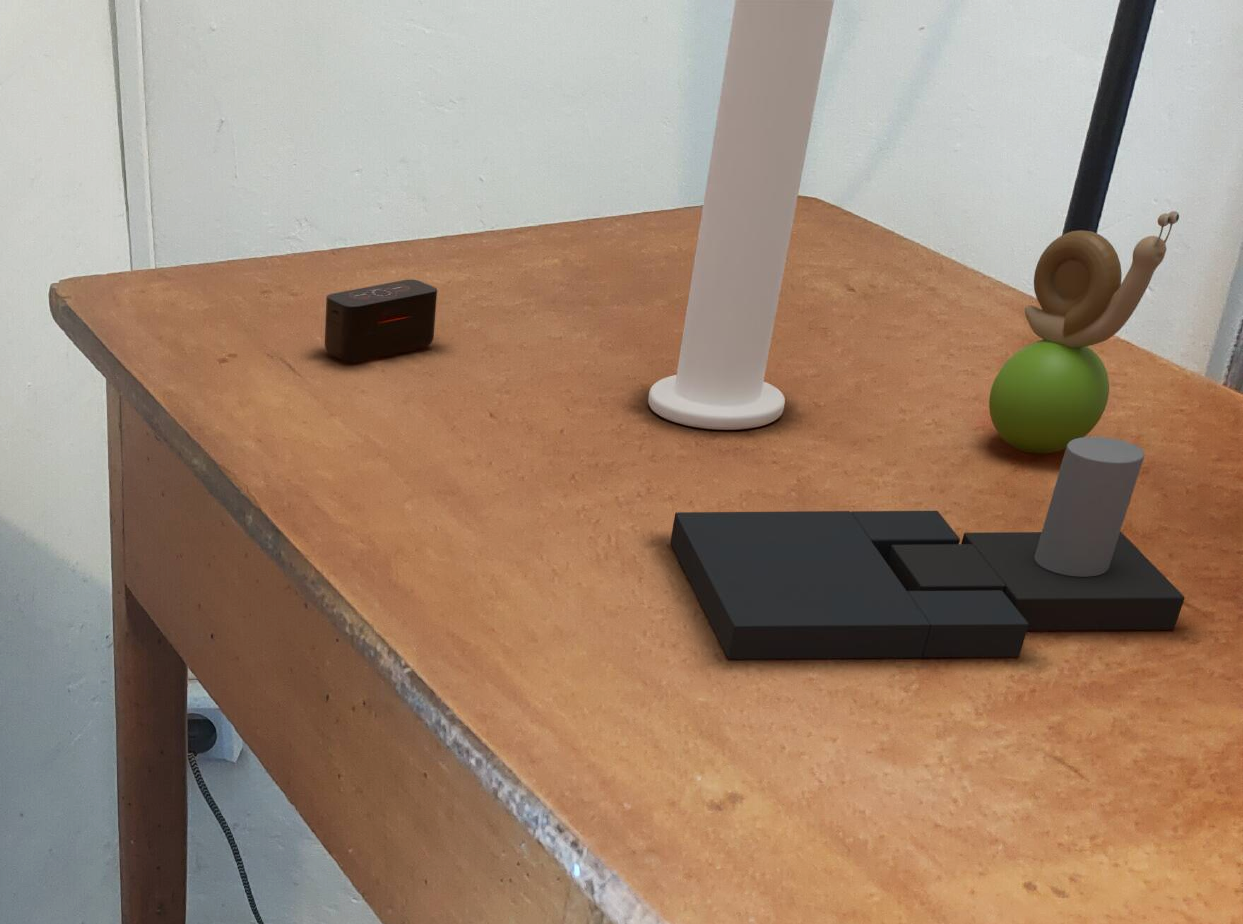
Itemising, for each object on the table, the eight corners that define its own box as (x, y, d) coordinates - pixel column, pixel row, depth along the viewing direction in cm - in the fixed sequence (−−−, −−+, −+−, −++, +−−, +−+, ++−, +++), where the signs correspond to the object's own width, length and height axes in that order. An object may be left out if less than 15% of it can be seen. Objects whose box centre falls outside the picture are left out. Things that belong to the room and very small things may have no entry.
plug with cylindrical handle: (1111, 562, 85) (1157, 418, 81) (1174, 630, 80) (1227, 479, 75) (874, 564, 85) (909, 420, 81) (922, 632, 80) (961, 481, 76)
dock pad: (930, 541, 87) (938, 509, 86) (1019, 657, 78) (1029, 623, 77) (669, 543, 87) (675, 511, 86) (727, 659, 78) (734, 625, 77)
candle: (721, 440, 97) (822, -131, 82) (620, 404, 102) (696, -145, 86) (810, 411, 101) (923, -145, 85) (708, 377, 105) (797, -157, 89)
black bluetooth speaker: (448, 346, 110) (453, 288, 108) (346, 367, 107) (349, 308, 105) (402, 324, 113) (406, 268, 111) (302, 345, 110) (304, 287, 108)
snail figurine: (1062, 484, 92) (1139, 223, 85) (954, 445, 96) (1018, 193, 89) (1130, 460, 95) (1211, 204, 87) (1022, 423, 99) (1090, 176, 91)
